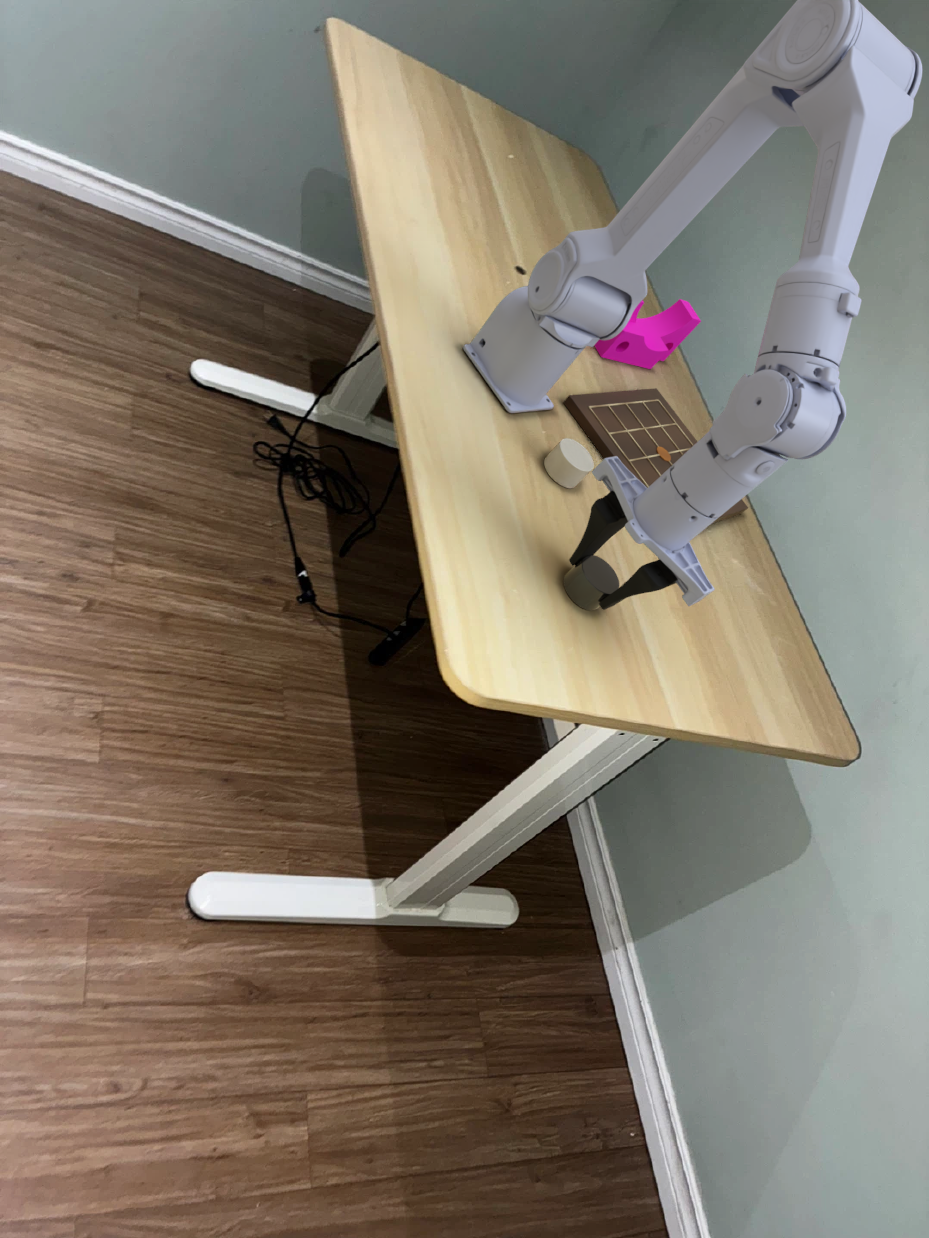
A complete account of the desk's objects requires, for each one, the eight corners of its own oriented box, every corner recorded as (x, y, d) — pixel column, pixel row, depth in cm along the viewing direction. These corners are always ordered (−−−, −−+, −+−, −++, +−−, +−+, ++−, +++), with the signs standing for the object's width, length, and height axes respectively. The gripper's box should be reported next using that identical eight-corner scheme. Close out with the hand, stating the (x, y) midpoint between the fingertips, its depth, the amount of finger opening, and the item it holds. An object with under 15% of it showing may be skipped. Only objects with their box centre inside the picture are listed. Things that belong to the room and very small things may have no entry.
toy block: (601, 357, 106) (639, 312, 101) (581, 322, 108) (618, 277, 103) (671, 374, 115) (709, 334, 110) (651, 342, 118) (688, 302, 113)
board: (562, 402, 94) (569, 394, 93) (650, 394, 108) (657, 387, 107) (664, 540, 89) (672, 533, 89) (741, 513, 104) (749, 507, 103)
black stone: (555, 576, 75) (573, 559, 73) (582, 567, 78) (600, 550, 76) (581, 615, 74) (601, 599, 72) (607, 604, 77) (627, 588, 75)
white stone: (536, 457, 84) (552, 439, 83) (561, 453, 88) (577, 436, 86) (560, 491, 83) (577, 473, 82) (584, 485, 87) (601, 468, 85)
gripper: (619, 425, 65) (522, 527, 74) (728, 572, 62) (612, 659, 71) (663, 419, 70) (566, 515, 79) (766, 554, 67) (653, 638, 76)
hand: (591, 582), depth 75 cm, fingers closed on black stone, 4 cm apart
